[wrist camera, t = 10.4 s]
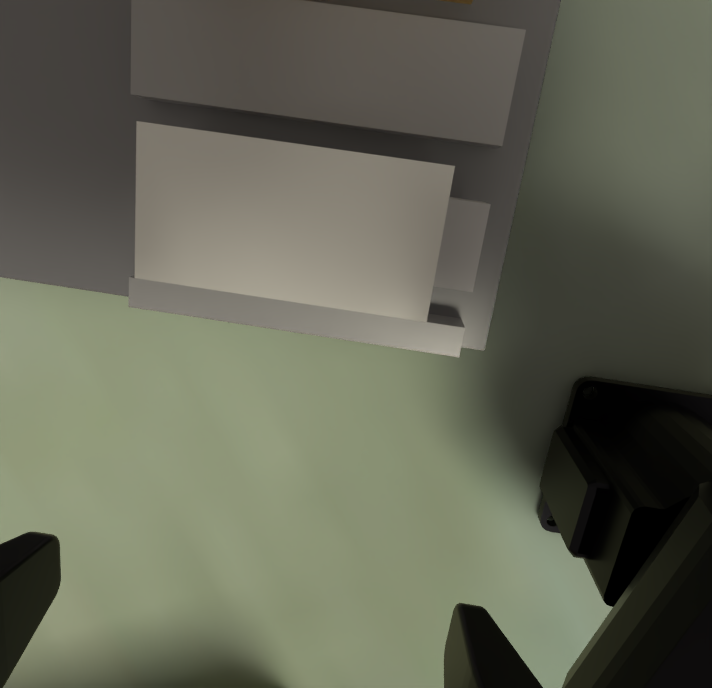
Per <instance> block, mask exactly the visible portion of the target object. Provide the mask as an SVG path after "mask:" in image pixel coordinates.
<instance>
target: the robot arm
mask: <svg viewBox="0 0 712 688" xmlns="http://www.w3.org/2000/svg"><path fill="white" fill-rule="evenodd" d="M587 387H594V390H593V392H592V393H591V394H589V395H583V391H584V389H585V388H587ZM540 489H541V491H542V493H543V498H542V501H541V505H540V508H539V512H538V518H539V521H540V523H541V525H542V527H543V528H544V529H545V530H547V531H550V532H556V533H561V536H562V538H563V540H564V542H565V545H566V547H567V549H568V550H569V552H570V553H571V554H572V555H573V557H577V558H583V559H584V561H585V563H586V565H587V567H588V569H589V571H590V573H591V575H592V578H593V580H594V582H595V584H596V586H597V588H598V590H599V592H600V594H601V596H602V598H603V601H604V602H605V603H606V604H607V605H609V606H612V607H613V608H612V610H611V611H610V613H609V614H608V616H607V617H606V619H605V620H604V621H603V623H602V624H601V626H600V627H599V629H598V630H597V631H596V633H595V634H594V636H593V637H592V639H591V640H590V641H589V643H588V644H587V646H586V647H585V649H584V650H583V651H582V653H581V654H580V656H579V657H578V659H577V660H576V662H575V663H574V664H573V666H572V667H571V669H570V670H569V672H568V673H567V676H566V678H565V681H564V684H563V687H562V688H712V395H707V394H701V393H694V392H688V391H681V390H674V389H668V388H661V387H655V386H648V385H642V384H635V383H629V382H622V381H616V380H609V379H603V378H596V377H583V378H580V379H579V380H577V381H576V382H575V384H574V386H573V389H572V392H571V396H570V400H569V403H568V407H567V411H566V414H565V418H564V421H563V425H562V426H560V427H559V428H557V429H556V430H555V431H554V433H553V437H552V440H551V444H550V448H549V452H548V455H547V459H546V463H545V466H544V470H543V474H542V477H541V481H540ZM552 515H553V518H554V520H547V519H548V517H550V516H552ZM60 581H61V567H60V544H59V540H58V538H57V537H56V536H54V535H52V534H46V533H40V532H28V533H25V534H22V535H20V536H18V537H16V538H13V539H11V540H9V541H7V542H4V543H2V544H0V688H3V686H4V685H5V683H6V681H7V680H8V678H9V676H10V675H11V673H12V671H13V669H14V668H15V666H16V664H17V662H18V661H19V659H20V657H21V655H22V654H23V652H24V650H25V649H26V647H27V645H28V643H29V642H30V640H31V638H32V636H33V635H34V633H35V631H36V629H37V628H38V626H39V624H40V622H41V621H42V619H43V617H44V615H45V614H46V612H47V610H48V608H49V607H50V605H51V603H52V602H53V600H54V598H55V596H56V594H57V592H58V589H59V586H60ZM444 688H543V687H542V686H541V684H540V683H539V682H538V680H537V679H536V678H535V676H534V675H533V674H532V672H531V671H530V669H529V668H528V667H527V665H526V664H525V663H524V661H523V660H522V658H521V657H520V656H519V654H518V653H517V652H516V650H515V649H514V648H513V646H512V645H511V643H510V642H509V641H508V639H507V638H506V637H505V635H504V634H503V633H502V631H501V630H500V628H499V627H498V626H497V624H496V623H495V622H494V620H493V619H492V617H491V616H490V615H489V613H488V612H487V611H486V610H485V609H484V608H483V607H481V606H476V605H470V604H464V603H459V604H457V605H456V606H455V608H454V611H453V615H452V619H451V623H450V628H449V632H448V636H447V640H446V645H445V652H444Z"/></svg>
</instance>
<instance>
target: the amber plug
mask: <svg viewBox="0 0 712 688" xmlns="http://www.w3.org/2000/svg"><path fill="white" fill-rule="evenodd" d="M440 1H448V2H456V3H463V4H472V1H473V0H440Z"/></svg>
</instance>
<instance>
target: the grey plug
mask: <svg viewBox="0 0 712 688" xmlns="http://www.w3.org/2000/svg"><path fill="white" fill-rule="evenodd" d="M454 169H455V166H451V165H444V164H437V163H430V162H423V161H416V160H409V159H402V158H395V157H388V156H380V155H373V154H366V153H359V152H352V151H345V150H338V149H331V148H324V147H317V146H310V145H303V144H296V143H289V142H281V141H274V140H267V139H260V138H253V137H246V136H239V135H232V134H225V133H218V132H211V131H204V130H197V129H189V128H182V127H175V126H168V125H161V124H154V123H147V122H140V121H137V124H136V204H135V278H137V279H144V280H151V281H157V282H164V283H171V284H177V285H184V286H190V287H197V288H204V289H210V290H217V291H223V292H230V293H237V294H243V295H250V296H256V297H263V298H270V299H276V300H283V301H289V302H296V303H303V304H309V305H316V306H322V307H329V308H336V309H342V310H349V311H355V312H362V313H369V314H375V315H382V316H388V317H395V318H402V319H408V320H415V321H421V322H427V318H428V312H429V307H430V301H431V296H432V290H433V286H434V287H441V288H448V289H455V290H461V291H468V292H473V288H474V283H475V278H476V274H477V269H478V264H479V259H480V254H481V249H482V244H483V239H484V234H485V230H486V225H487V220H488V215H489V210H490V205H491V204H488V203H485V202H481V201H474V200H467V199H460V198H453V197H450V191H451V185H452V180H453V174H454Z"/></svg>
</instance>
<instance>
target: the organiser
mask: <svg viewBox="0 0 712 688" xmlns="http://www.w3.org/2000/svg"><path fill="white" fill-rule="evenodd" d="M560 2H561V0H473V1H472V4H463V3H456V2H448V1H440V0H0V277H4V278H10V279H17V280H24V281H30V282H37V283H43V284H50V285H56V286H63V287H70V288H76V289H83V290H89V291H96V292H102V293H109V294H115V295H122V296H129V307H133V308H140V309H147V310H153V311H160V312H166V313H173V314H179V315H186V316H192V317H199V318H205V319H212V320H218V321H225V322H232V323H238V324H245V325H251V326H258V327H264V328H271V329H277V330H284V331H290V332H297V333H303V334H310V335H316V336H323V337H330V338H336V339H343V340H349V341H356V342H362V343H369V344H375V345H382V346H388V347H395V348H401V349H408V350H415V351H421V352H428V353H434V354H441V355H447V356H454V357H459V356H460V351H461V347H463V348H470V349H477V350H483V351H485V346H486V342H487V337H488V332H489V328H490V323H491V319H492V314H493V309H494V305H495V300H496V296H497V291H498V287H499V282H500V277H501V273H502V268H503V264H504V259H505V254H506V250H507V245H508V241H509V236H510V232H511V227H512V222H513V218H514V213H515V209H516V204H517V199H518V195H519V190H520V186H521V181H522V177H523V172H524V167H525V163H526V158H527V154H528V149H529V144H530V140H531V135H532V131H533V126H534V121H535V117H536V112H537V108H538V103H539V99H540V94H541V89H542V85H543V80H544V76H545V71H546V66H547V62H548V57H549V53H550V48H551V44H552V39H553V34H554V30H555V25H556V21H557V16H558V11H559V7H560ZM137 121H140V122H147V123H154V124H161V125H168V126H175V127H182V128H189V129H197V130H204V131H211V132H218V133H225V134H232V135H239V136H246V137H253V138H260V139H267V140H274V141H281V142H289V143H296V144H303V145H310V146H317V147H324V148H331V149H338V150H345V151H352V152H359V153H366V154H373V155H380V156H388V157H395V158H402V159H409V160H416V161H423V162H430V163H437V164H444V165H451V166H455V169H454V174H453V180H452V185H451V191H450V197H453V198H460V199H467V200H474V201H481V202H485V203H488V204H491V205H490V210H489V215H488V220H487V225H486V230H485V234H484V239H483V244H482V249H481V254H480V259H479V264H478V269H477V274H476V278H475V283H474V288H473V292H468V291H461V290H455V289H448V288H441V287H434V286H433V290H432V296H431V301H430V307H429V312H428V318H427V322H421V321H415V320H408V319H402V318H395V317H388V316H382V315H375V314H369V313H362V312H355V311H349V310H342V309H336V308H329V307H322V306H316V305H309V304H303V303H296V302H289V301H283V300H276V299H270V298H263V297H256V296H250V295H243V294H237V293H230V292H223V291H217V290H210V289H204V288H197V287H190V286H184V285H177V284H171V283H164V282H157V281H151V280H144V279H137V278H135V204H136V124H137Z"/></svg>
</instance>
